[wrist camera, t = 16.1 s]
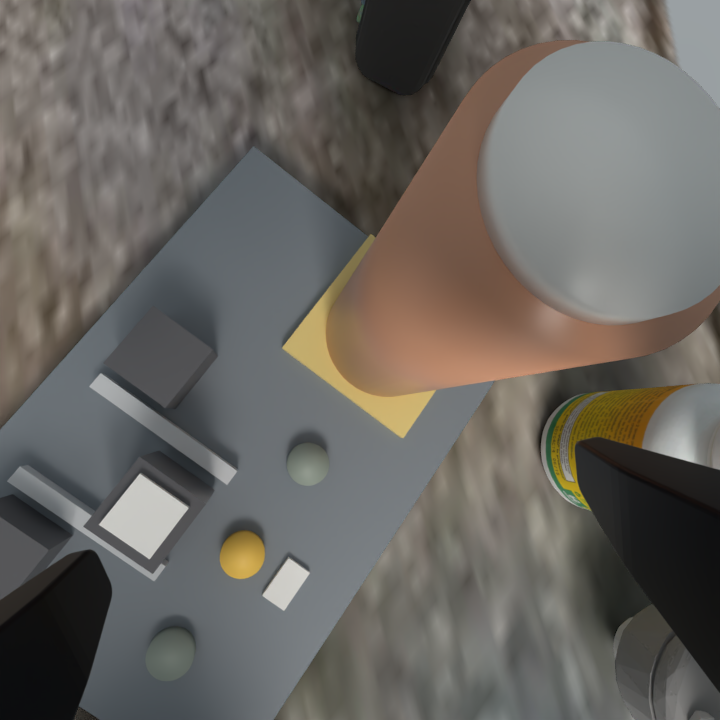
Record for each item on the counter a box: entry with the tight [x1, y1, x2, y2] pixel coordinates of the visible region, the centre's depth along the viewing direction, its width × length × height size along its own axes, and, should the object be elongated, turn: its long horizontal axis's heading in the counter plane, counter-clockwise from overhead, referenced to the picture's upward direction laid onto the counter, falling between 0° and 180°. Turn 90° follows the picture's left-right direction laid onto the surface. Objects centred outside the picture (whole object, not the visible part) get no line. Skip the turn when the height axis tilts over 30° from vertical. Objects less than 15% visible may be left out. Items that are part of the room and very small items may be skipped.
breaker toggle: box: [83, 451, 215, 574], centre depth 16 cm, size 2×2×3 cm
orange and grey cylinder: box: [326, 40, 720, 397], centre depth 13 cm, size 5×5×14 cm
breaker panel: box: [0, 146, 495, 720], centre depth 18 cm, size 20×14×3 cm
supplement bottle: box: [541, 383, 720, 511], centre depth 18 cm, size 5×5×10 cm
